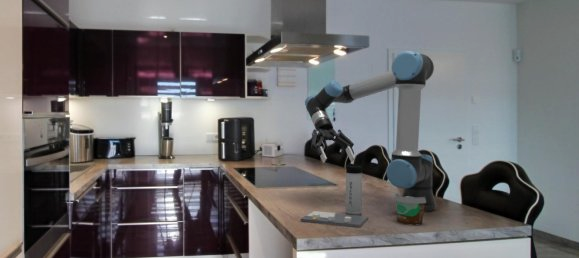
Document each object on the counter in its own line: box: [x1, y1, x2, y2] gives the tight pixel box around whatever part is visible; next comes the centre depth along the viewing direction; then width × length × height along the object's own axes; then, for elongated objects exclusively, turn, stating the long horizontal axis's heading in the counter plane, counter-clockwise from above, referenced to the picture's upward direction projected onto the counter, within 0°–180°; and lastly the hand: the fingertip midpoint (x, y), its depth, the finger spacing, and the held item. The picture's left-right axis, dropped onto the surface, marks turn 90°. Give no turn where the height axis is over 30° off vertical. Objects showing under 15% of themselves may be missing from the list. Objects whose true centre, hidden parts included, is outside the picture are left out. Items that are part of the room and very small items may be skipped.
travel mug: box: [345, 162, 363, 216], centre depth 171 cm, size 6×7×20 cm
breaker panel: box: [300, 210, 369, 228], centre depth 161 cm, size 22×14×2 cm, turn 68°
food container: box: [393, 192, 426, 226], centre depth 158 cm, size 12×6×10 cm, turn 45°
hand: (339, 160), depth 180 cm, fingers open, 13 cm apart
